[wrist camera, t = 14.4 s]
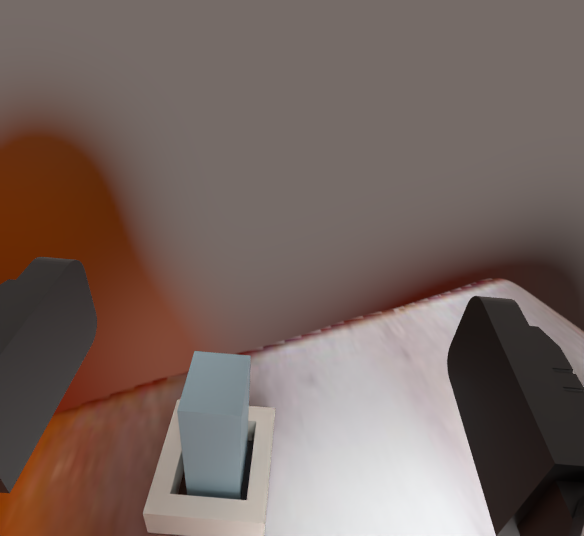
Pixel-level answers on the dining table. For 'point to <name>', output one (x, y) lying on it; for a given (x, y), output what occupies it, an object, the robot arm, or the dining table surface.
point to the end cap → (208, 510)
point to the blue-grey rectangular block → (215, 424)
